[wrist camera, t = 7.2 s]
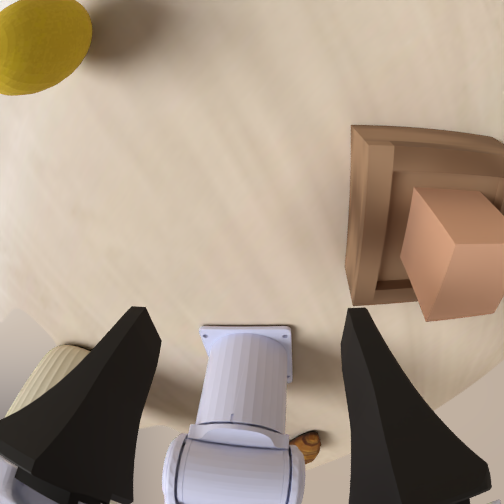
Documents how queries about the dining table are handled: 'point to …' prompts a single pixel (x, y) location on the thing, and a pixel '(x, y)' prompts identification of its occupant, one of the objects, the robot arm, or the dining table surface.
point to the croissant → (308, 445)
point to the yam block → (454, 253)
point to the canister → (49, 375)
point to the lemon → (41, 44)
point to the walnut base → (406, 197)
